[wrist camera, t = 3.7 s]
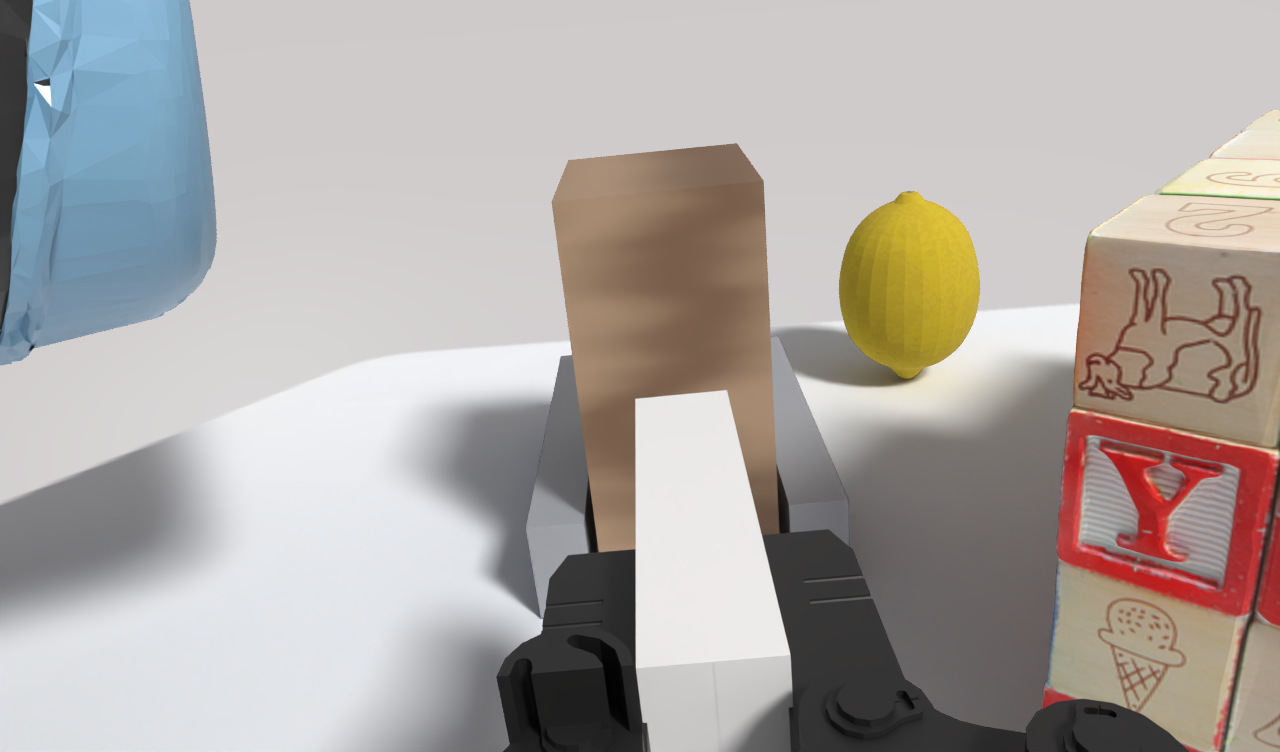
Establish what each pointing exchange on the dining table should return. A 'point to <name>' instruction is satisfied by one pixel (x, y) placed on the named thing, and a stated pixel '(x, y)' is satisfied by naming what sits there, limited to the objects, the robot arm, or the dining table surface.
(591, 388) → the block
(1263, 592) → the stack of blocks
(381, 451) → the dining table surface
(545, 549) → the chute
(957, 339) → the lemon
